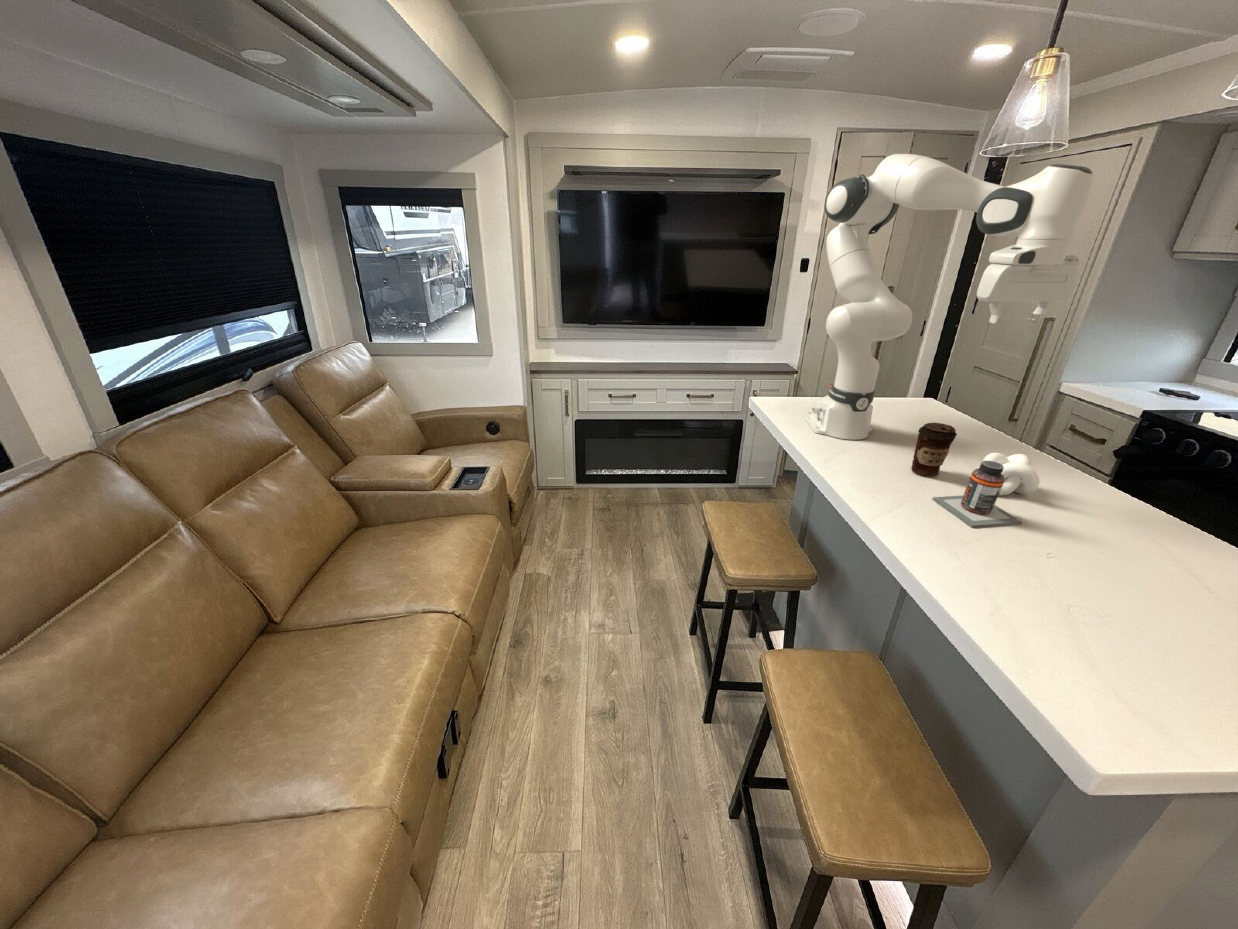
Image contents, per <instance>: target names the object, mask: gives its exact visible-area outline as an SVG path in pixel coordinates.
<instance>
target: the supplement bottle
mask: <svg viewBox="0 0 1238 929" xmlns="http://www.w3.org/2000/svg"><path fill="white" fill-rule="evenodd" d="M1003 468H1004V466H1003V465H1001V464H999V463H997V462H993V461H983V462H982V461H981V463H980V465H979V468H976V469H974V470H972V472H971V474H970V477H969V480H968V481H967V485H966V487H965V491H964V492H963V498H962V500H961V505H962V507H963V508H965V509H966V510H968V511H970V512H973V513H976V514H983V515H985V514H989V513H991V511H992V509H993V507H994V505H996V502H997V500H998V498H999V496H1000V495H999V493H1000V490H1001V488H1002V486H1003V483H1004V480H1005V479H1004V476H1003V475H1002V474H1001V473H1002V472H1003Z"/></svg>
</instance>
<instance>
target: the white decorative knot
mask: <svg viewBox="0 0 1238 929" xmlns="http://www.w3.org/2000/svg"><path fill="white" fill-rule="evenodd" d="M983 461H993V462H997V463H999V464H1001V465H1003V466H1004V468H1003V472H1002V473H1001V474H1002V475H1003V476H1004V479H1005V480H1004V483H1003V486H1002V488H1001V490H1000V493H999V495H998V496H1006V495H1010V494H1011V493H1013V492H1014V493H1017V494H1020V495H1028V494H1032V493H1034V492H1035V491H1037V489H1038V488H1039V485H1040V482H1041V481H1040V477H1039V474H1038V473H1037V471H1036V470H1035V469H1034V468H1033V467H1032V466H1031V459H1030V458H1029V457H1028V456H1027V455H1025V454H1024V453H1023V454H1022V453H1015V454H1012V455H1008V456H1006V455H1005V454H1003V453H1001V452H1000V453H999V452H992V453H989V454H987V455H986V456H984V458H983V459H982V461H981V463H982V462H983Z"/></svg>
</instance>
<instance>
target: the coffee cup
mask: <svg viewBox="0 0 1238 929" xmlns="http://www.w3.org/2000/svg"><path fill="white" fill-rule="evenodd" d="M917 432H918V435H917V439H916V445H915V449H914V453H913V454H914V455H913V459H912V464H911V467H910V468H911V472H912V473H914V474H916V475H919V476H921V477H922V476H923V477H927V478H937V477H938V476H940V470H941V466H942V465H943V464H944V463H945V462H944V461H945V460H946V458H947V456H948V454H949V452H950V447H951V445H952V443H953V442H954V440H955V439H956V437H957V436H958V434H957V432H956V428H955V427H953V426H952V425H950V424H945V423H940V422H927V423H925V424H923V426H921V427H920V428H919V429H918V431H917Z"/></svg>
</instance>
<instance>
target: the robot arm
mask: <svg viewBox="0 0 1238 929" xmlns="http://www.w3.org/2000/svg"><path fill="white" fill-rule="evenodd" d="M1093 180H1094V173H1093V171H1092V169H1090V168H1089V167H1087V166H1081V165H1080V166H1079V165H1073V164H1071V165H1070V164H1062V163H1055V164H1049V165H1048V166H1046V167H1045V168H1044V169H1042V170H1041V171H1039V172H1038V173H1037V174H1035V175H1033V176H1031V177H1028V178H1027V179H1023V180H1021V181H1019V182H1016V183H1012V184H1010V185H1007V186H1005V185H1001V184H998V183H995V182H994V183H993V182H989V181H986V180H982V179H979V178H977V177H975V176H973V175H971V174H969V173H966V172H964V171H962V170H960V169H957V168H956V167H953V166H951V165H949V164H947V163H946V162H942V161H941V160H938V159H935V158H934V157H933V158H932V157H929V156H925V155H920V154H915V153H894V154H891V155H888V156H887V157H885V158H883V160H882V161H881V162H880V163H879V164H878V165H877V167H876V168H875V170H874V172H873V173H872V174H871V175H870V176H866V175H865V174H862V173H861V174H859V175H855V176H853V177H851V178H846V179H844V180H840V181H839V182H836V184H834V185H832V187H831V188H830V189H829V191H828V192H827V195H826V197H825V201H824V213H825V214H826V216H827V217H828V219H829V220H832V221H833V222H836V223H839V224H838V225H837V226H834V228H832V229H831V230H830V232H829V233H828V234H827V237H826V242H825V243H826V245H825V247H826V248H825V249H826V256H827V261H828V265H829V270H830V274H831V276H832V280H833V282H834V285H835V289H836V292H837V293H838V295H839V296H840V297H841V298H843V299H845V300H846V301H847V302H848V303H846V304H842V305H839V306H836V307H834V308H832V310H831V311H830V312H829V314H828V315H827V318H826V323H825V329H826V334H827V335H828V337H829V338H830V340H832V342H833V343H834V344H835V347H836V350H837V357H838V359H837V361H838V362H837V368H836V373H835V377H834V378H835V379H834V383H833V384H829V387H828V388H829V392H828V394H827V395H825V396H823V397H822V398H820V399H817V400H815V401H814V402H813V405H812V409H811V411H810V412H805V413H803V414H802V418H803V419H804V420H805V422H806V423H807V424H808V425H809V427H810V428H811V429H812V431H814V433H816V434H821V435H826V436H830V437H833V438H836V439H841V440H863V439H867V437H869V433H871V432H872V430H873V427H872V426H871V423H872V415H873V409H874V407H873V405H872V403H873V401H874V398H875V393H876V391H875V386H876V382H877V378H878V374H879V370H880V363H879V361H878V359H876V358H875V357H873V356H872V343H873V342H883V341H890V340H894V339H896V338H899V337H902V336H903V335H905V334H906V333H907V332H908V331H909V330H910V328H911V325H912V323H913V312H912V310H911V308H910V306H908V305H907V304H906V303H904V302H902V301H901V300H899V299H898V298H897V297H896V296H895V295H894V294H893V293H892V292H891V290H889V288H888V287H887V285H885V283H884V282H883V279H882V277H880V274H879V272H878V269H877V266H876V264H875V261H874V257H873V254H872V251H871V249H870V245H869V242H868V235H873V234H877V233H878V232H879V230H881V228H882V227H884V226H885V225H887V224H888V223H889V222H890V221H891V220H893V218H894V217H895V216H896V214H897V212H898V210H899V208H900V206H901V207H904V208H908V209H912V210H918V211H919V210H920V211H944V210H945V211H946V210H961V211H970V212H973V213H976V217H975V218H976V219H975V222H976V225H977V228H978V230H979V231H980V232H981V233H983V234H985V235H987V236H988V235H989V236H994V237H1018V238H1017V240H1016V243H1015V244H1011V245H1010V246H1007V247H1004V248H1001V249H999V250H998V249H997V250H994V251H993V252H991V254H990V255H989V257H988V258H989V259H988V262H989V263H991V264H989V265H988V266H987V267H986V268H985V269H984V271H983V274H982V276H981V278H980V281H979V284H978V286H977V291H976V297H977V299H978V300H979V301H982V302H986V303H987V302H988V303H989V312H990V318H989V323H991V324H1001V323H1003V319H1004V316H1005V315H1004V314H1002V313H1001V312H1002V310H1001V308H1004V305H1005V303H1016V302H1017V303H1018V302H1019V303H1024V302H1026V303H1027V302H1032V303H1034V302H1035V303H1036V302H1037V303H1036V306H1037V307H1036V308H1035V310H1034V311H1033V312H1032V313H1028V316H1027V320H1026V321H1027V323H1031V324H1038V323H1040V322H1041V319H1042V317H1043V315H1044V314H1045V313H1046V312H1047V311H1048V310H1049V309H1050V308H1051V307H1052V305H1053V302H1066V301H1068V300H1069V299H1070V298H1071V296H1072V295H1073V293H1074V289H1075V286H1076V283H1077V279H1078V275H1079V267H1080V263H1081V262H1080V260H1079V258H1078V257H1077V255H1074V254H1069V255H1067V254H1068V252H1069V249H1070V247H1071V245H1072V244H1071V243H1072V241H1073V239H1074V231H1075V227H1076V225H1077V223H1078V222H1079V220H1080V219H1081V218H1082V215H1083V213H1084V210H1085V209H1086V208H1085V207H1086V206H1087V202H1088V199H1089V196H1090V194H1091V190H1092V185H1093Z"/></svg>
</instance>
